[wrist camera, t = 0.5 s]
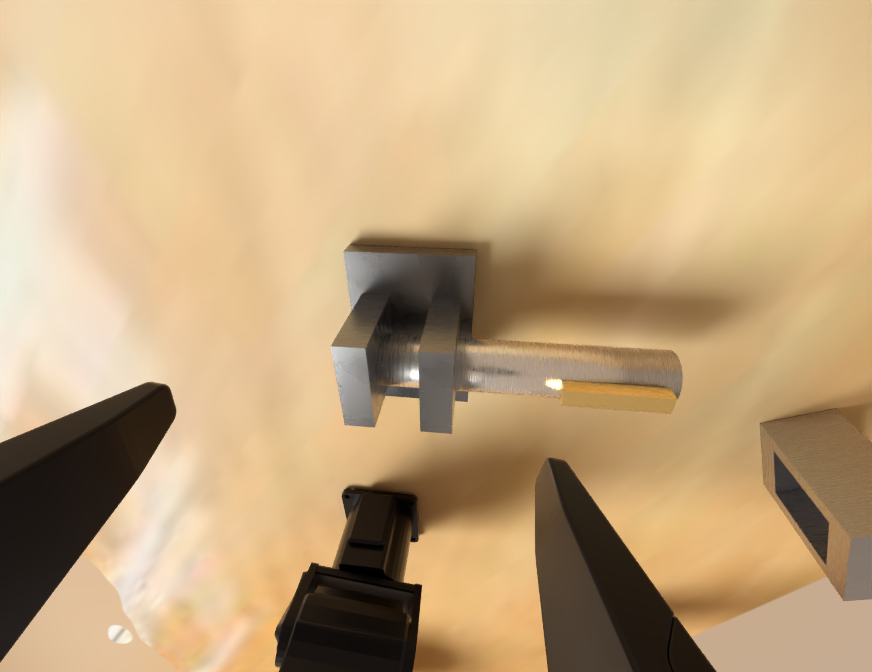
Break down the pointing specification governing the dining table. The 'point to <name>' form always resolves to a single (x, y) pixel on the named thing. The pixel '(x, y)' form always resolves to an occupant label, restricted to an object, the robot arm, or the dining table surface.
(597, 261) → the dining table surface
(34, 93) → the dining table surface
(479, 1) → the dining table surface
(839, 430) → the hollow rectangular metal block
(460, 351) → the shaft stand
